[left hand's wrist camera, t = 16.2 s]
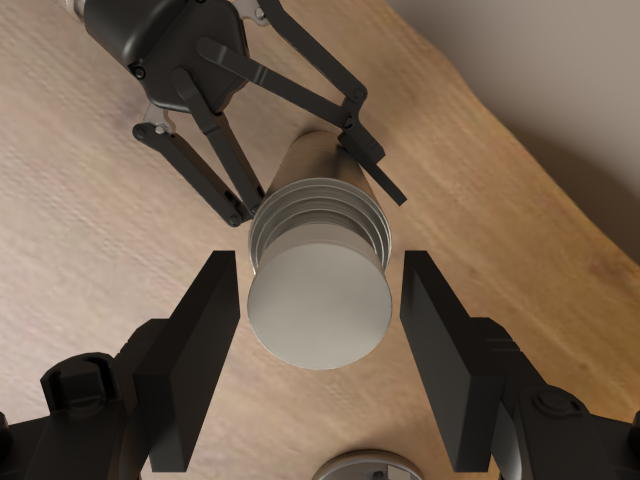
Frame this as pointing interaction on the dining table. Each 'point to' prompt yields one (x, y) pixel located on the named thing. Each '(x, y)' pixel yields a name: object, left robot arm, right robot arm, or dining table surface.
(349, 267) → the cap
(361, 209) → the bottle
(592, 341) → the dining table surface
